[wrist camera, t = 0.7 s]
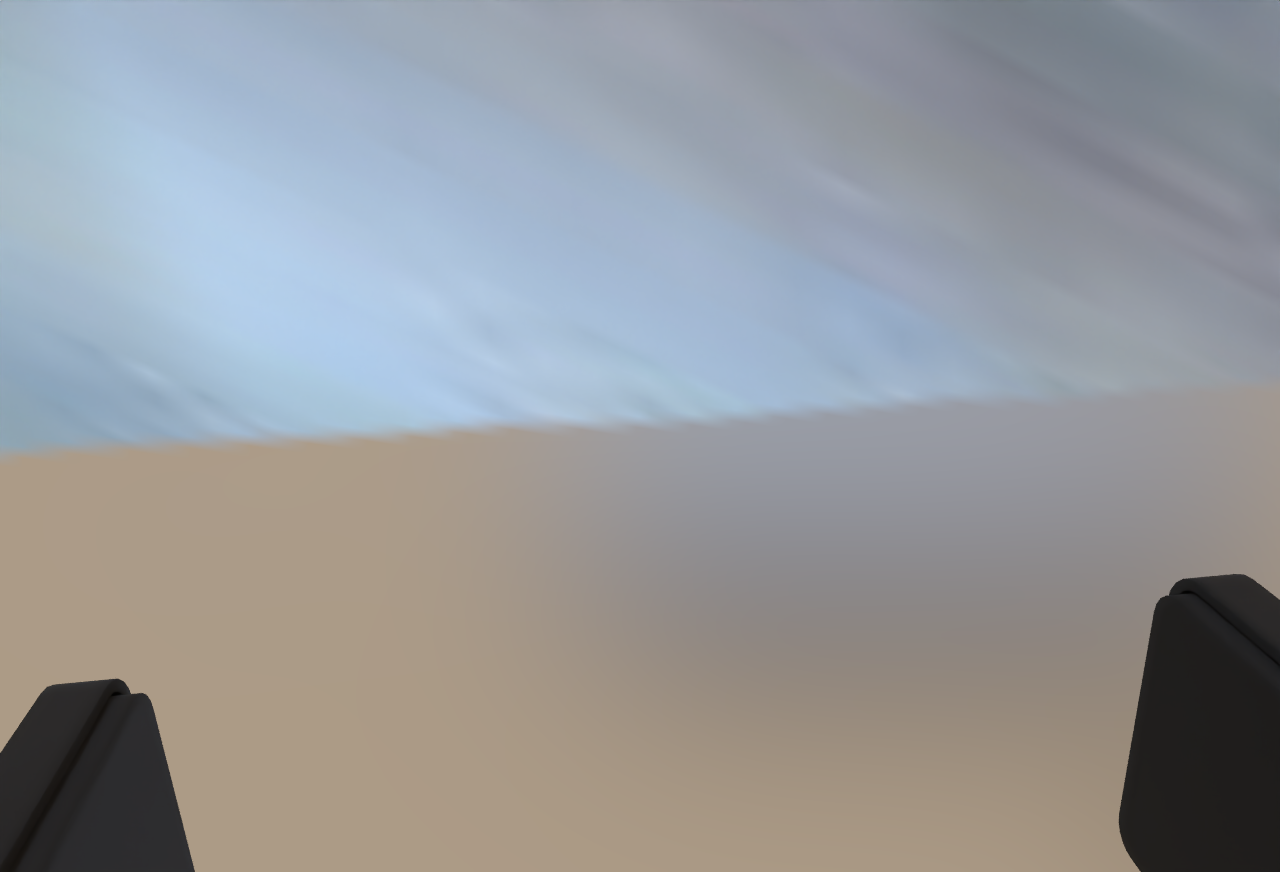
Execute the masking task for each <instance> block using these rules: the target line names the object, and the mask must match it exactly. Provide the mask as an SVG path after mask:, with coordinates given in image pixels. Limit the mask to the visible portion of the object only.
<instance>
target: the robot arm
mask: <svg viewBox="0 0 1280 872" xmlns="http://www.w3.org/2000/svg"><path fill="white" fill-rule="evenodd" d="M1119 828H1120V834H1121V837H1122V841H1123V844H1124V846H1125V848H1126V851H1127V852H1128V854H1129V856H1130V857H1131V859H1132V860H1133V862H1134V863H1135V864H1136V866H1137V867H1138V869H1139V870H1140V871H1141V872H1280V600H1279V599H1278V598H1276V597H1275V596H1274V595H1273V594H1271V593H1270V592H1269V591H1268V590H1266V589H1265V588H1264V587H1262V586H1261V585H1260V584H1258V583H1257V582H1256V581H1254V580H1253V579H1251V578H1249V577H1248V576H1246V575H1241V574H1232V575H1220V576H1210V577H1199V578H1188V579H1182V580H1180V581H1178V582H1176V583H1175V585H1174V586H1173V587H1172V589H1171V590H1170V594H1169V596H1165V597H1162V598H1160V600H1159V601H1158V603H1157V604H1156V608H1155V610H1154V615H1153V621H1152V627H1151V633H1150V638H1149V645H1148V650H1147V656H1146V662H1145V667H1144V673H1143V679H1142V685H1141V690H1140V696H1139V702H1138V708H1137V714H1136V719H1135V725H1134V731H1133V737H1132V742H1131V748H1130V754H1129V760H1128V766H1127V772H1126V778H1125V783H1124V789H1123V795H1122V800H1121V807H1120V812H1119ZM0 872H195V870H194V866H193V863H192V859H191V855H190V851H189V847H188V844H187V840H186V835H185V831H184V828H183V823H182V819H181V815H180V811H179V808H178V804H177V800H176V796H175V792H174V788H173V784H172V780H171V776H170V772H169V769H168V764H167V760H166V756H165V753H164V749H163V745H162V741H161V737H160V733H159V729H158V725H157V721H156V717H155V713H154V710H153V706H152V703H151V701H150V699H149V698H148V696H147V695H146V694H143V693H138V694H131V693H130V690H129V688H128V687H127V685H126V684H125V682H124V681H122V680H120V679H109V680H99V681H88V682H77V683H67V684H56V685H52V686H49V687H47V688H46V689H45V690H44V691H43V692H42V693H41V694H40V696H39V697H38V698H37V700H36V701H35V703H34V705H33V706H32V707H31V709H30V710H29V712H28V713H27V715H26V716H25V718H24V719H23V721H22V722H21V723H20V725H19V727H18V728H17V730H16V731H15V732H14V734H13V735H12V737H11V738H10V740H9V741H8V743H7V744H6V746H5V747H4V749H3V750H2V752H1V753H0Z"/></svg>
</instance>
